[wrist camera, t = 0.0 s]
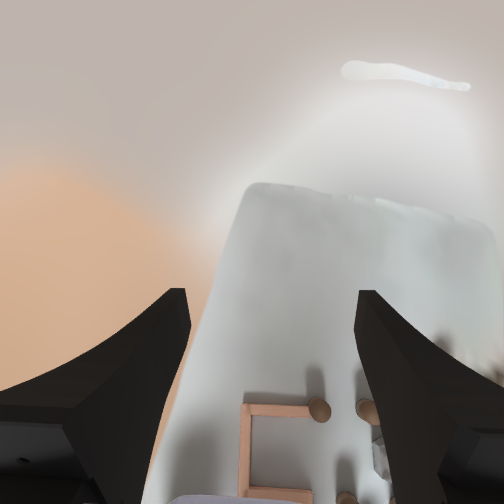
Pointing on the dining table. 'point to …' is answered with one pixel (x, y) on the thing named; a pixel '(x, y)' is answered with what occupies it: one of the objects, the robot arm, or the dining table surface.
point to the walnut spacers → (363, 409)
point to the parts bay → (244, 458)
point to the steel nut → (381, 459)
